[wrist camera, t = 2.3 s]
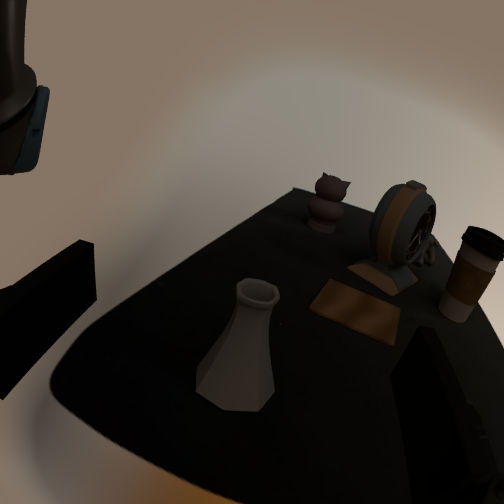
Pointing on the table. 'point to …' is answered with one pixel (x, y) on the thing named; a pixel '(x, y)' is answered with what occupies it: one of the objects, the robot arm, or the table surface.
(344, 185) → the cat figurine
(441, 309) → the coffee cup
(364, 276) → the alarm clock
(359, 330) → the wooden board
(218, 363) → the flask
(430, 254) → the gray elephant figurine
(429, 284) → the table surface
